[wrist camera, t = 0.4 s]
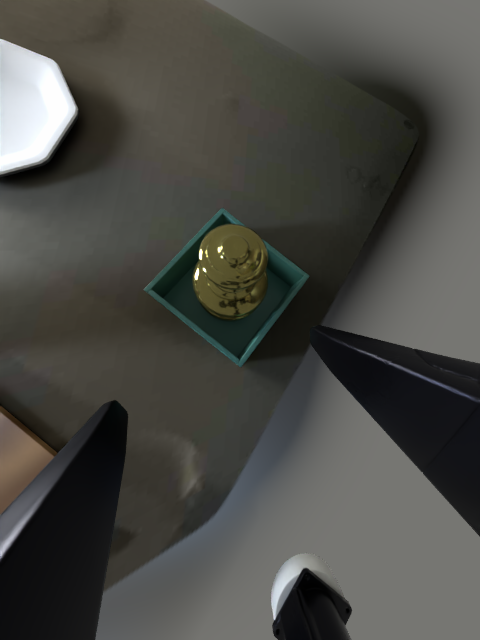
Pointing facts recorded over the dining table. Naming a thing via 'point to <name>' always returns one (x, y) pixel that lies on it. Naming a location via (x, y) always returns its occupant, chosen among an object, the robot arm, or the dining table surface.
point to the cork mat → (19, 457)
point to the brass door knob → (231, 272)
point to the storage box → (226, 336)
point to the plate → (31, 109)
